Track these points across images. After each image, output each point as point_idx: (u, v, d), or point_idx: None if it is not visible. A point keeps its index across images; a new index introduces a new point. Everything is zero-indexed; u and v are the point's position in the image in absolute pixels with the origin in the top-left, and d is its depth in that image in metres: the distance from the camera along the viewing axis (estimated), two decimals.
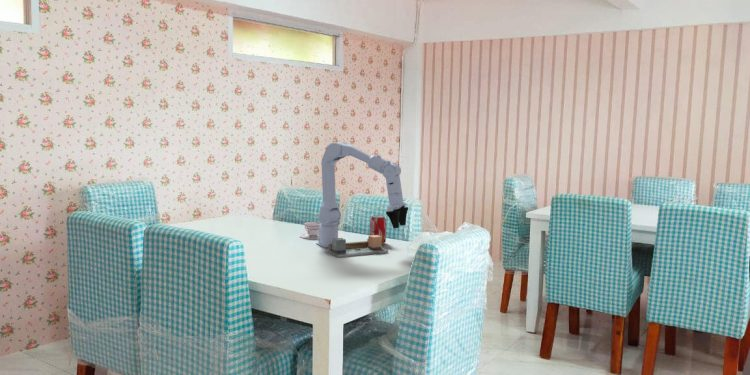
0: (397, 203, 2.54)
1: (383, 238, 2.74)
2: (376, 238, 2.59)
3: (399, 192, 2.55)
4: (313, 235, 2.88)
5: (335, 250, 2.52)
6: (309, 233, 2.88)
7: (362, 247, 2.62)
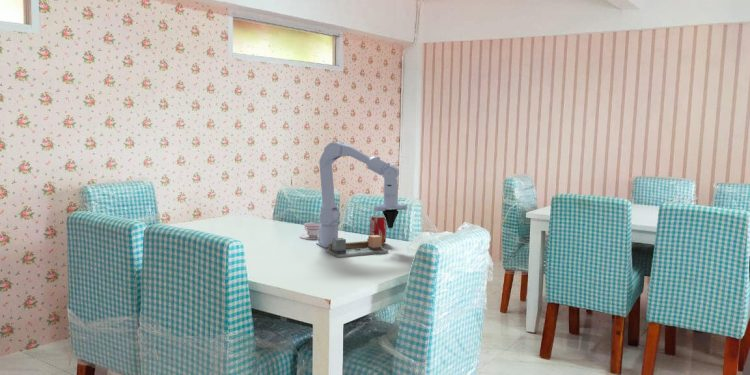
0: (387, 205, 2.60)
1: (383, 238, 2.74)
2: (376, 238, 2.59)
3: (396, 195, 2.60)
4: (313, 235, 2.87)
5: (335, 250, 2.52)
6: (309, 233, 2.87)
7: (362, 247, 2.62)
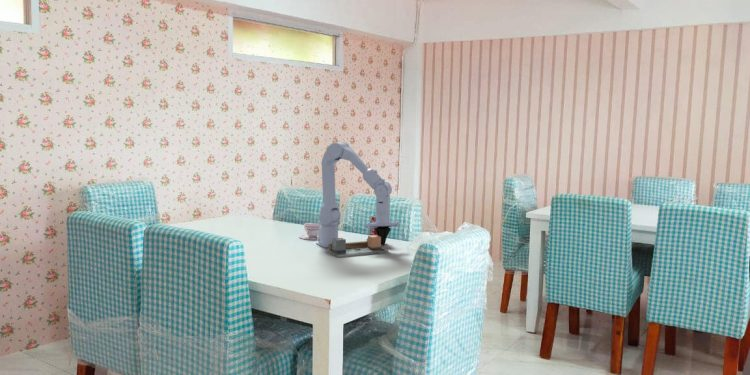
0: (379, 222, 2.59)
1: None
2: (375, 238, 2.59)
3: (387, 212, 2.59)
4: (313, 236, 2.87)
5: (335, 250, 2.52)
6: (309, 234, 2.87)
7: (362, 247, 2.62)
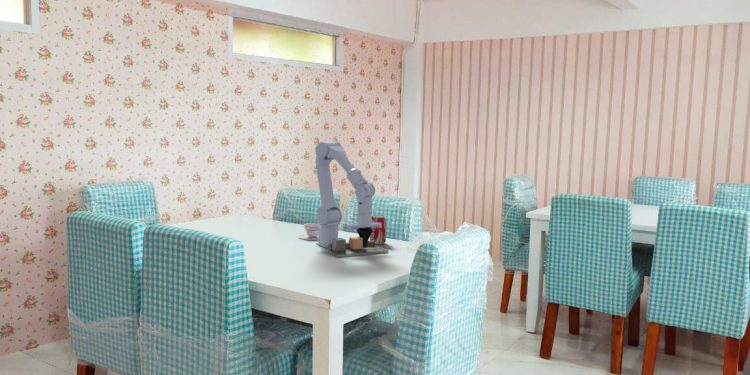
0: (360, 223, 2.56)
1: (383, 238, 2.74)
2: (357, 240, 2.55)
3: (367, 213, 2.55)
4: (313, 236, 2.86)
5: (335, 250, 2.52)
6: (309, 234, 2.86)
7: None
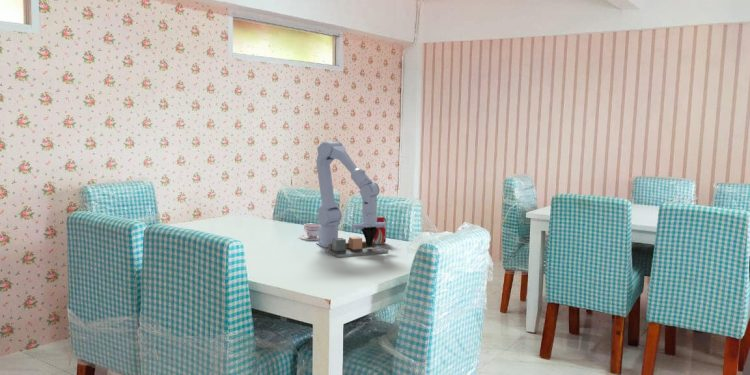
0: (365, 223, 2.57)
1: (383, 238, 2.74)
2: (357, 240, 2.55)
3: (373, 212, 2.56)
4: (312, 236, 2.85)
5: (335, 250, 2.52)
6: (308, 234, 2.85)
7: (362, 247, 2.62)
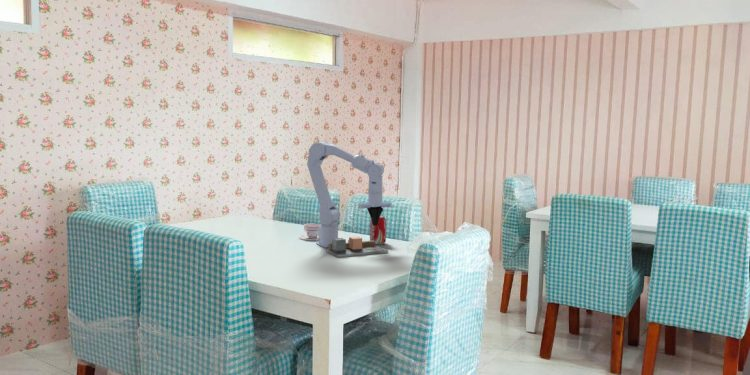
0: (371, 202, 2.61)
1: (383, 238, 2.74)
2: (357, 240, 2.55)
3: (380, 192, 2.61)
4: (312, 236, 2.85)
5: (335, 250, 2.52)
6: (308, 234, 2.85)
7: (362, 247, 2.62)
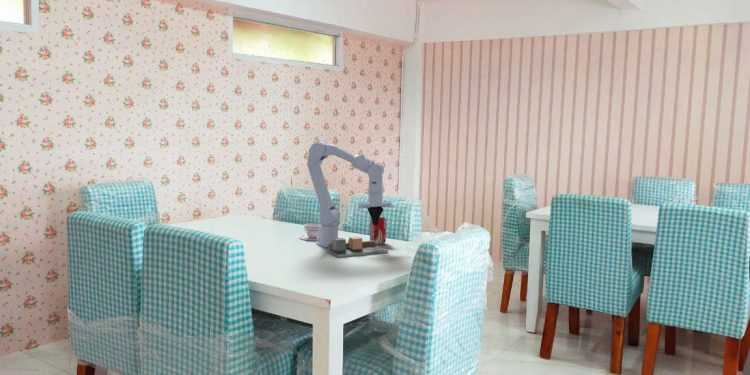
0: (371, 202, 2.61)
1: (383, 238, 2.74)
2: (357, 240, 2.55)
3: (380, 192, 2.62)
4: (313, 236, 2.85)
5: (335, 250, 2.52)
6: (309, 234, 2.85)
7: (362, 247, 2.62)
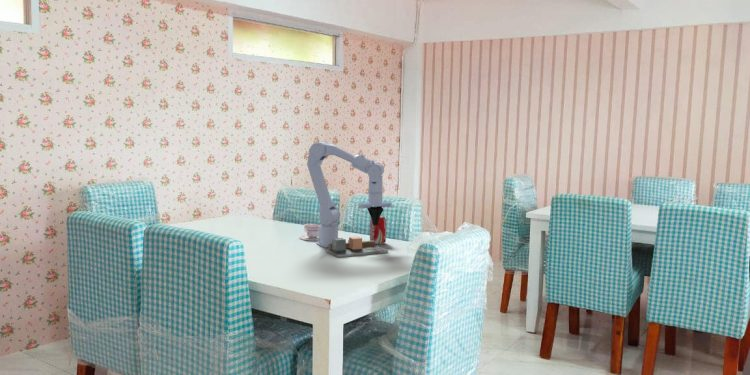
0: (371, 202, 2.61)
1: (383, 238, 2.74)
2: (357, 240, 2.55)
3: (380, 192, 2.62)
4: (313, 237, 2.84)
5: (335, 250, 2.52)
6: (309, 235, 2.84)
7: (362, 247, 2.62)
